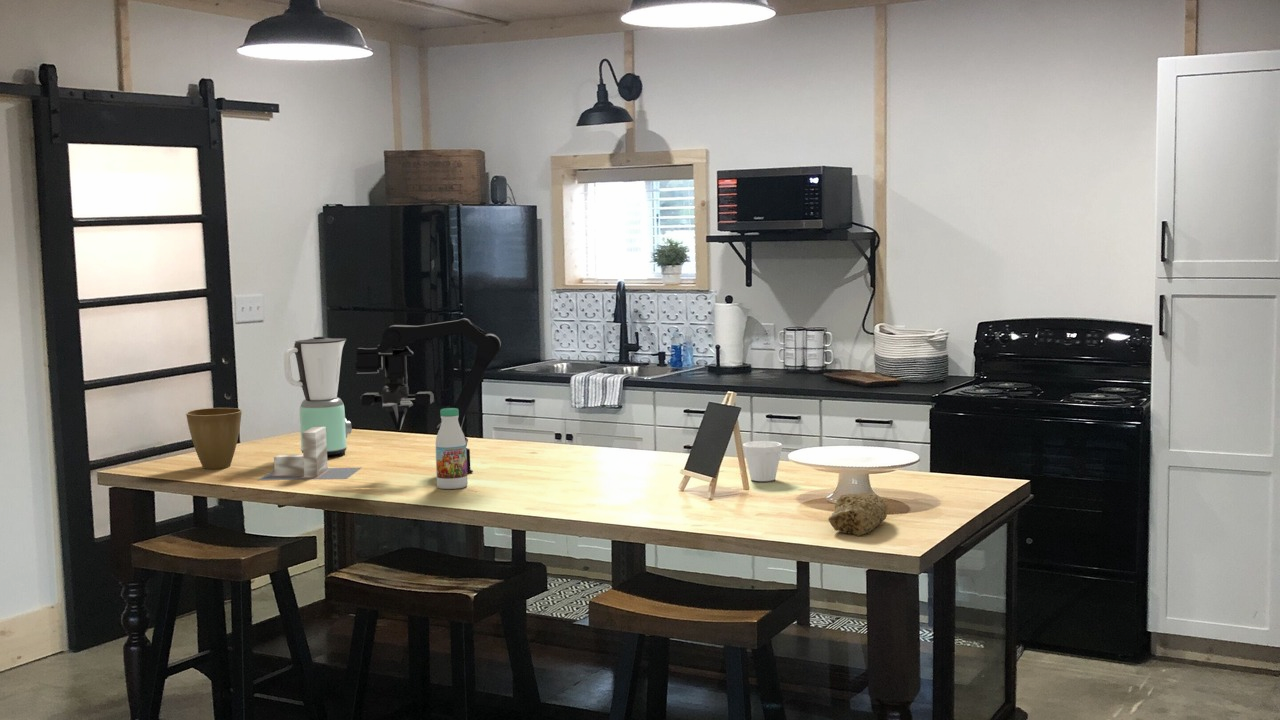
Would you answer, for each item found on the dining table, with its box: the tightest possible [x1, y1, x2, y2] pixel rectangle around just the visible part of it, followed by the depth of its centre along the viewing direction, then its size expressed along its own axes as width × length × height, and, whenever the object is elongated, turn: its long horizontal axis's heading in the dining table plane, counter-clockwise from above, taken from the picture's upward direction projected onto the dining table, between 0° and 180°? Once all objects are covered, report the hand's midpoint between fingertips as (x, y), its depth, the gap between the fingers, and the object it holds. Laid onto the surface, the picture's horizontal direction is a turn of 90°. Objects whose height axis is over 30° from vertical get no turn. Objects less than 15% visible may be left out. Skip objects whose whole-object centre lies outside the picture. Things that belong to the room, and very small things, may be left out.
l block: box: [273, 427, 329, 477], centre depth 341 cm, size 12×10×12 cm
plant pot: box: [185, 407, 243, 470], centre depth 357 cm, size 15×15×16 cm
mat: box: [257, 467, 362, 481], centre depth 341 cm, size 24×16×1 cm, turn 88°
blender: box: [283, 336, 353, 457], centre depth 371 cm, size 19×13×35 cm
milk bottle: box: [435, 407, 469, 490], centre depth 320 cm, size 8×8×20 cm
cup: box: [742, 440, 783, 483], centre depth 319 cm, size 10×10×9 cm
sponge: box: [827, 492, 888, 537], centre depth 268 cm, size 13×8×20 cm
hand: (398, 430), depth 338 cm, fingers closed
